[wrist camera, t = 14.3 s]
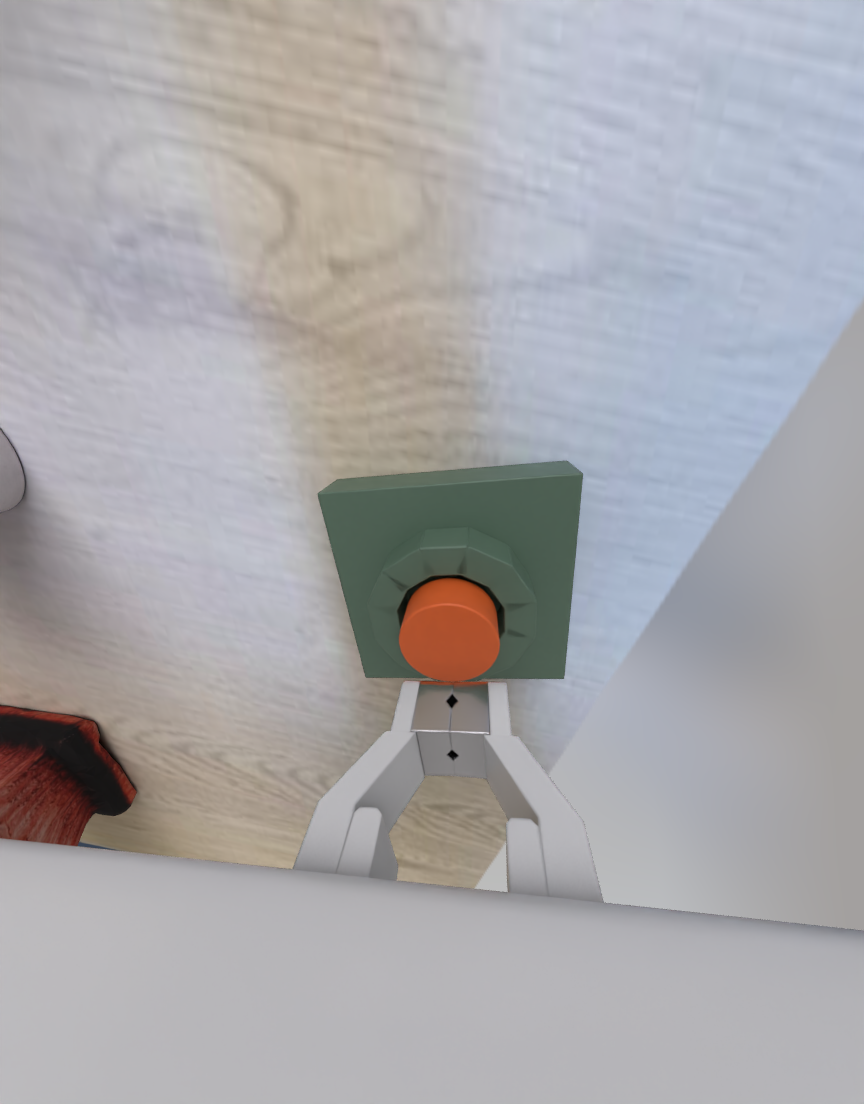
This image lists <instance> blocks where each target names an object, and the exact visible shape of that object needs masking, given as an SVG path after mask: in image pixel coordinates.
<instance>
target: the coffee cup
mask: <svg viewBox="0 0 864 1104" xmlns="http://www.w3.org/2000/svg"><path fill="white" fill-rule="evenodd" d="M24 489H25V481H24V474H23V470H22V467H21V464H20V461H19V459H18V457H17V455H16V453H15V451H14V449H13V447H12V446H11V444H10V442H9V441H8V439H7V438H6V437H5V435H4V434H3V433H2V431H1V430H0V513H1V512H4V511H7V510H9V509H12V508H13V507H15V506H16V505H17V504H18V503H19V502H20V501H21V499H22V497H23V494H24Z"/></svg>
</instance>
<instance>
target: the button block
mask: <svg viewBox="0 0 864 1104" xmlns="http://www.w3.org/2000/svg"><path fill="white" fill-rule="evenodd" d="M582 480H583V473H582V472H581V471H579V470H578V469H577V468H576V467H574V466H573V465H572V464H571V463H570V462H568V461H556V462H544V463H532V464H520V465H508V466H495V467H483V468H471V469H459V470H446V471H434V472H422V473H410V474H398V475H385V476H373V477H361V478H349V479H337V480H336V481H334V482H333V483H332V484H330V485H329V486H327V487H326V488H325V489H323V490H322V491H320V492H319V493H318V498H319V502H320V506H321V509H322V513H323V517H324V521H325V525H326V528H327V532H328V536H329V540H330V544H331V547H332V551H333V555H334V559H335V563H336V566H337V570H338V574H339V578H340V582H341V585H342V589H343V593H344V597H345V601H346V604H347V608H348V612H349V616H350V620H351V623H352V627H353V631H354V635H355V639H356V642H357V646H358V650H359V654H360V658H361V661H362V665H363V669H364V673H365V677H367V678H430V677H427V676H425V675H423V674H421V673H420V672H418V671H417V670H415V669H414V668H413V667H412V666H411V665H410V664H409V663H408V662H407V661H406V659H405V658H404V656H403V654H402V652H401V649H400V645H399V633H400V629H401V625H402V622H403V619H404V615H405V612H406V608H407V605H408V602H409V600H410V598H411V596H412V595H413V594H414V592H415V591H416V590H417V589H419V588H420V587H421V586H423V585H424V584H426V583H428V582H430V581H433V580H437V579H442V578H457V579H462V580H466V581H469V582H471V583H473V584H475V585H477V586H478V587H480V588H481V589H483V590H484V591H485V592H486V593H487V594H488V595H489V597H490V598H491V599H492V601H493V603H494V605H495V608H496V612H497V621H498V631H499V640H500V649H499V654H498V656H497V658H496V660H495V662H494V663H493V665H492V666H491V667H490V668H489V669H488V670H487V671H486V672H484V673H483V674H481V675H479V676H477V677H475V678H472V679H469V680H465V681H476V680H477V681H479V680H481V679H484V678H503V679H564V675H565V664H566V653H567V642H568V632H569V621H570V610H571V599H572V588H573V577H574V567H575V556H576V545H577V534H578V523H579V513H580V502H581V491H582ZM431 679H433V678H431ZM433 680H436V679H433ZM437 681H440V680H437Z"/></svg>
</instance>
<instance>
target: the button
mask: <svg viewBox="0 0 864 1104" xmlns="http://www.w3.org/2000/svg"><path fill="white" fill-rule="evenodd" d="M399 645H400V649H401V652H402V654H403V656H404V658H405V659H406V661H407V662H408V663H409V664H410V665H411V666H412V667H413V668H414V669H415V670H417V671H418V672H420V673H421V674H423V675H425V676H427V677H430V678H433V679H436V680H440V681H448V682H458V681H465V680H469V679H472V678H475V677H477V676H479V675H481V674H483V673H484V672H486V671H487V670H488V669H489V668H490V667H491V666H492V665H493V663H494V662H495V660H496V658H497V656H498V654H499V649H500V640H499V631H498V621H497V612H496V608H495V605H494V603H493V601H492V599H491V598H490V597H489V595H488V594H487V593H486V592H485V591H484V590H483V589H481V588H480V587H478V586H477V585H475V584H473V583H471V582H469V581H466V580H462V579H457V578H442V579H437V580H433V581H430V582H428V583H426V584H424V585H423V586H421V587H420V588H419V589H417V590H416V591H415V592H414V594H413V595H412V596H411V598H410V600H409V602H408V605H407V608H406V612H405V615H404V619H403V622H402V625H401V629H400V633H399Z"/></svg>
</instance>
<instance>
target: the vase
mask: <svg viewBox="0 0 864 1104" xmlns="http://www.w3.org/2000/svg"><path fill="white" fill-rule="evenodd" d="M99 737H100V735H99V732H98V729H97V725H96V724H95V723H94V721H91V720H86V719H82V718H78V717H75V716H71V715H61V714H53V713H47V712H42V711H35V710H28V709H21V708H16V707H10V706H0V838H2V839H12V840H21V841H31V842H40V843H50V844H59V845H69V846H77V845H78V843H79V841H80V838H81V836H82V833H83V831H84V828H85V826H86V824H87V822H88V821H89V819H90V818H91V817H92V815H93V814H95V813H97V814H102V815H109V816H116V815H119V814H121V813H123V812H125V811H126V810H127V809H128V808H129V807H130V806H131V804H132V801H133V799H134V797H135V795H136V793H137V792H136V790H135V789H134V787H133V786H132V785H131V783H130V782H129V780H128V778H127V777H126V775H125V773H124V772H123V770H122V768H121V767H120V765H119V764H118V763H117V762H116V761H115V760H114V759H112V758H111V756H110V755H109V753H108V752H107V751H106V750H105V749H104V748H103V747H102V746H101V745H100V744H99Z"/></svg>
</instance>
